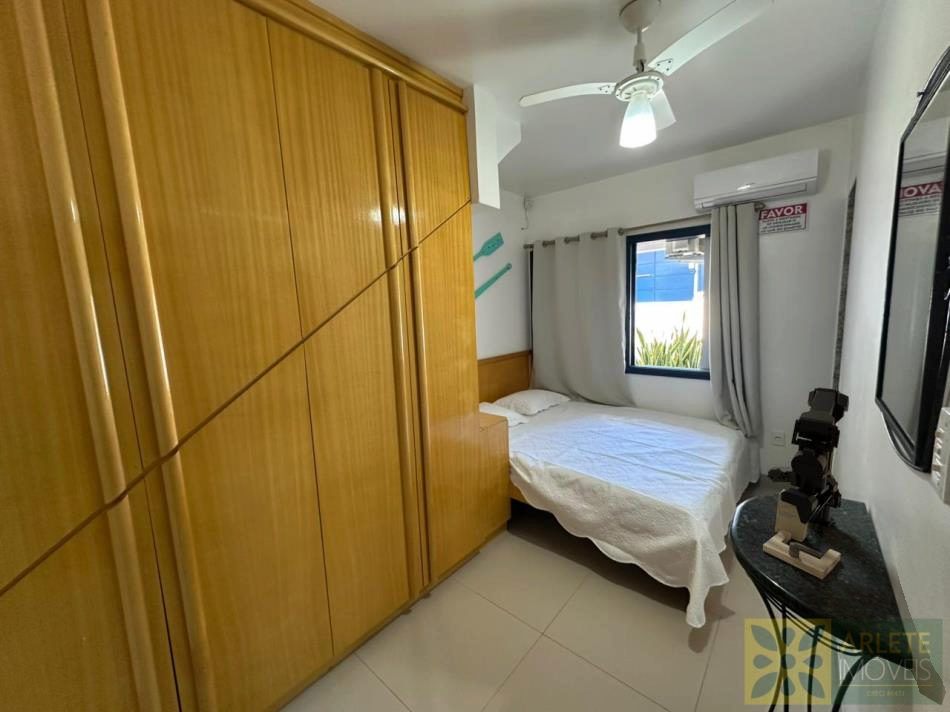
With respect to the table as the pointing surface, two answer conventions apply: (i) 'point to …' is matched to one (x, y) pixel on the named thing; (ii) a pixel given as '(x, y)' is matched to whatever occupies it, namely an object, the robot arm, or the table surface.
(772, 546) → the beige c-shaped bracket
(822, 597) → the table surface
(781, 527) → the skincare box
